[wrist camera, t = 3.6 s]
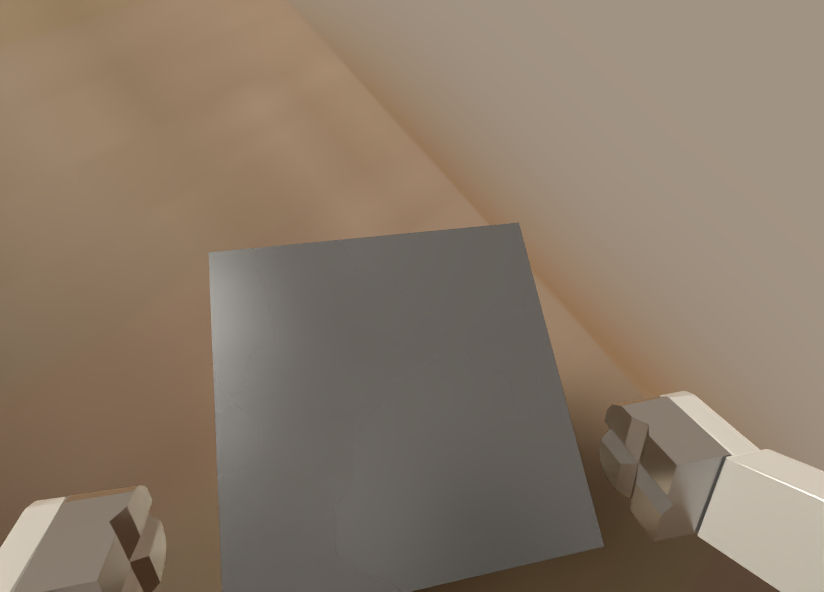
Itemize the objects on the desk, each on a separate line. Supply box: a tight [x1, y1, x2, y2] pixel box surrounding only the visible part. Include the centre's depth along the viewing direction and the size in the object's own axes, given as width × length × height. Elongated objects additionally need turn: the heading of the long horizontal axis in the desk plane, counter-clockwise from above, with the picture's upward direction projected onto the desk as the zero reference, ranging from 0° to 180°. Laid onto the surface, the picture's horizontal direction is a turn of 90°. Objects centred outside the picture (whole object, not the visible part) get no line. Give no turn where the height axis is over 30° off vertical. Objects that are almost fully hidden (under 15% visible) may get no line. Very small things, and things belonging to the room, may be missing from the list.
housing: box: [209, 223, 604, 592], centre depth 11 cm, size 4×4×10 cm
